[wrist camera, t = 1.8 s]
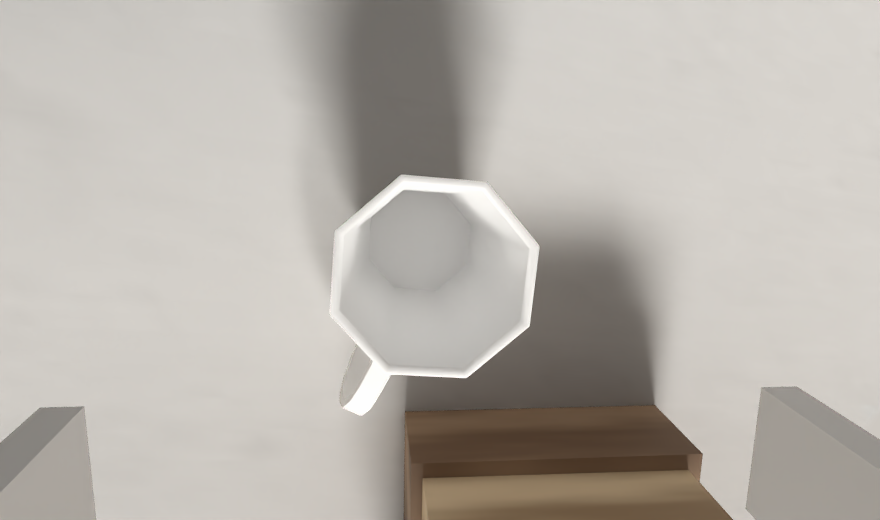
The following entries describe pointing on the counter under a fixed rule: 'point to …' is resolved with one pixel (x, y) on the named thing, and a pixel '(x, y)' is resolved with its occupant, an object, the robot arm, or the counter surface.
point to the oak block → (571, 497)
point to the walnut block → (539, 444)
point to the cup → (429, 283)
